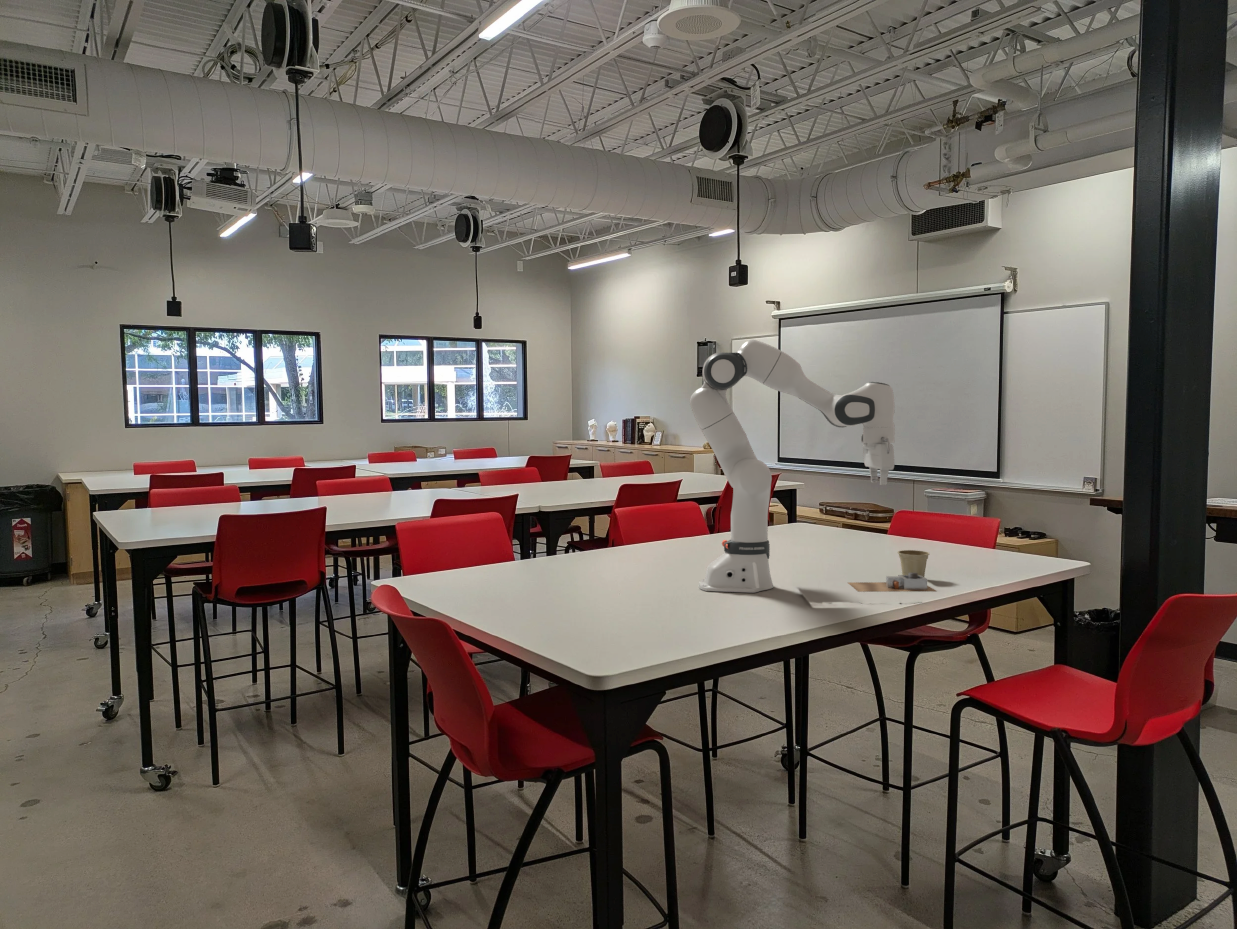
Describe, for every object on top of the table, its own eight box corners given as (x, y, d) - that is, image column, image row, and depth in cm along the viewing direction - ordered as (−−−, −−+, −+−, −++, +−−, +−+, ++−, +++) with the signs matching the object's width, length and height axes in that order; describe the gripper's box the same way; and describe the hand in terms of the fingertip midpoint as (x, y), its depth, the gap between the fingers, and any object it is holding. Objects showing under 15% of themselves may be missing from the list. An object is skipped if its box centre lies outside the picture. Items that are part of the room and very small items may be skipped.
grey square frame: (920, 585, 238) (920, 574, 238) (927, 589, 231) (927, 579, 231) (884, 585, 239) (884, 575, 238) (890, 589, 232) (890, 579, 232)
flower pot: (932, 583, 248) (932, 555, 248) (900, 582, 250) (900, 554, 249) (925, 577, 257) (926, 550, 257) (895, 576, 259) (895, 549, 258)
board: (858, 596, 230) (858, 577, 230) (847, 587, 243) (847, 568, 243) (936, 596, 229) (937, 576, 229) (922, 587, 242) (922, 568, 242)
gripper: (900, 437, 229) (900, 486, 230) (880, 436, 250) (880, 481, 251) (877, 437, 230) (877, 486, 230) (859, 436, 250) (859, 481, 251)
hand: (878, 483), depth 241 cm, fingers open, 8 cm apart
